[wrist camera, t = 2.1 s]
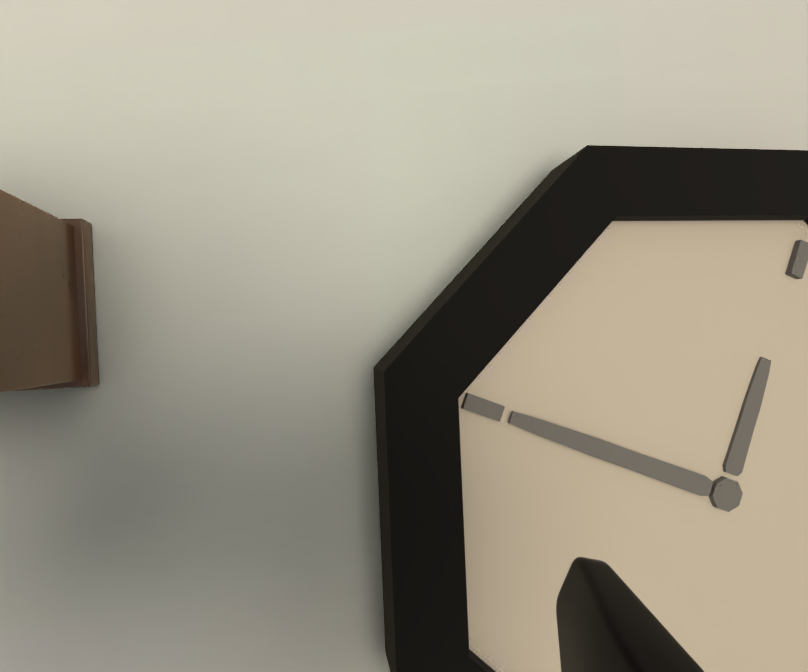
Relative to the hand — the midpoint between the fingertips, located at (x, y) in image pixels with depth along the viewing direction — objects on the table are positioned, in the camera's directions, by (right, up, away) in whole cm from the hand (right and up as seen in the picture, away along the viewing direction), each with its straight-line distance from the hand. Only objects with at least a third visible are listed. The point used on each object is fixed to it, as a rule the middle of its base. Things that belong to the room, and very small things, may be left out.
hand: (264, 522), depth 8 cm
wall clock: (+15, -4, +17) cm, 22 cm away
